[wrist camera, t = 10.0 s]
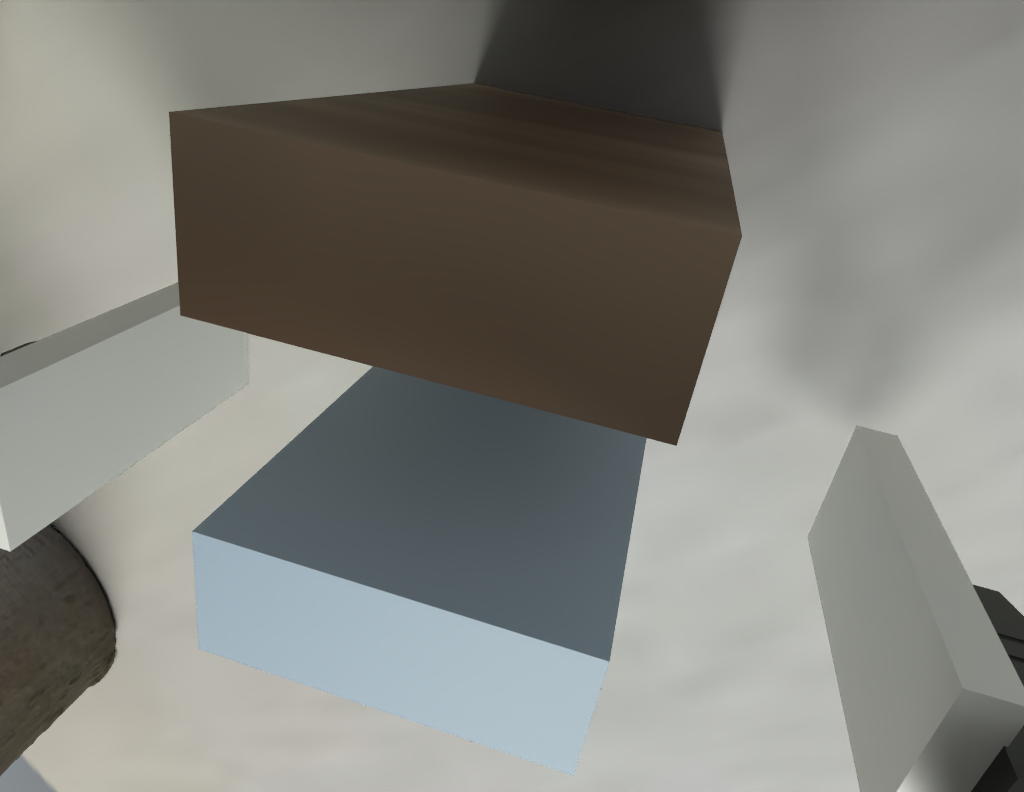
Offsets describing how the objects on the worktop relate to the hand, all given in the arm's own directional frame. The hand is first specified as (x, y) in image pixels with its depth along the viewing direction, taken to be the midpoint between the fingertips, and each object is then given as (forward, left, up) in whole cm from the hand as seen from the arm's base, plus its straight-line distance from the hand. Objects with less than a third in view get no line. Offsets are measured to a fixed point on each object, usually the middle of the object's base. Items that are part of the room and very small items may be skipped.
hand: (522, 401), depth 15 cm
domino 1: (-5, 0, -2) cm, 5 cm away
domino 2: (0, 0, -2) cm, 2 cm away
